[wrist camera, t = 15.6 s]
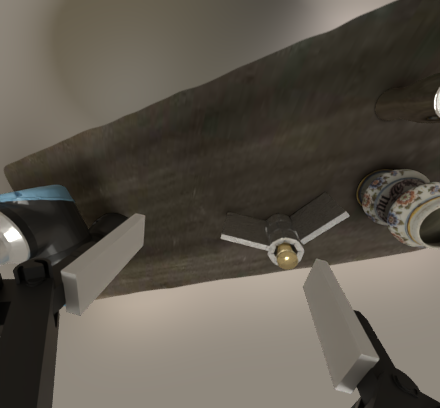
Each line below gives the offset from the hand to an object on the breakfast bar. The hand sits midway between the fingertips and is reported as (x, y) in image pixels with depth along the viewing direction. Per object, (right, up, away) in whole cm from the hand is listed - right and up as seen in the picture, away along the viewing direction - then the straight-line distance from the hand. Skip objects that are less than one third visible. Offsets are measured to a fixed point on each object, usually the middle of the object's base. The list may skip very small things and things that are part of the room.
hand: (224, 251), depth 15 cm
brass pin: (+15, -2, +38) cm, 41 cm away
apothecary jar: (+37, +7, +32) cm, 49 cm away
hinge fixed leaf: (+10, -1, +39) cm, 40 cm away
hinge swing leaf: (+19, +1, +36) cm, 41 cm away
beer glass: (+34, +24, +25) cm, 49 cm away
